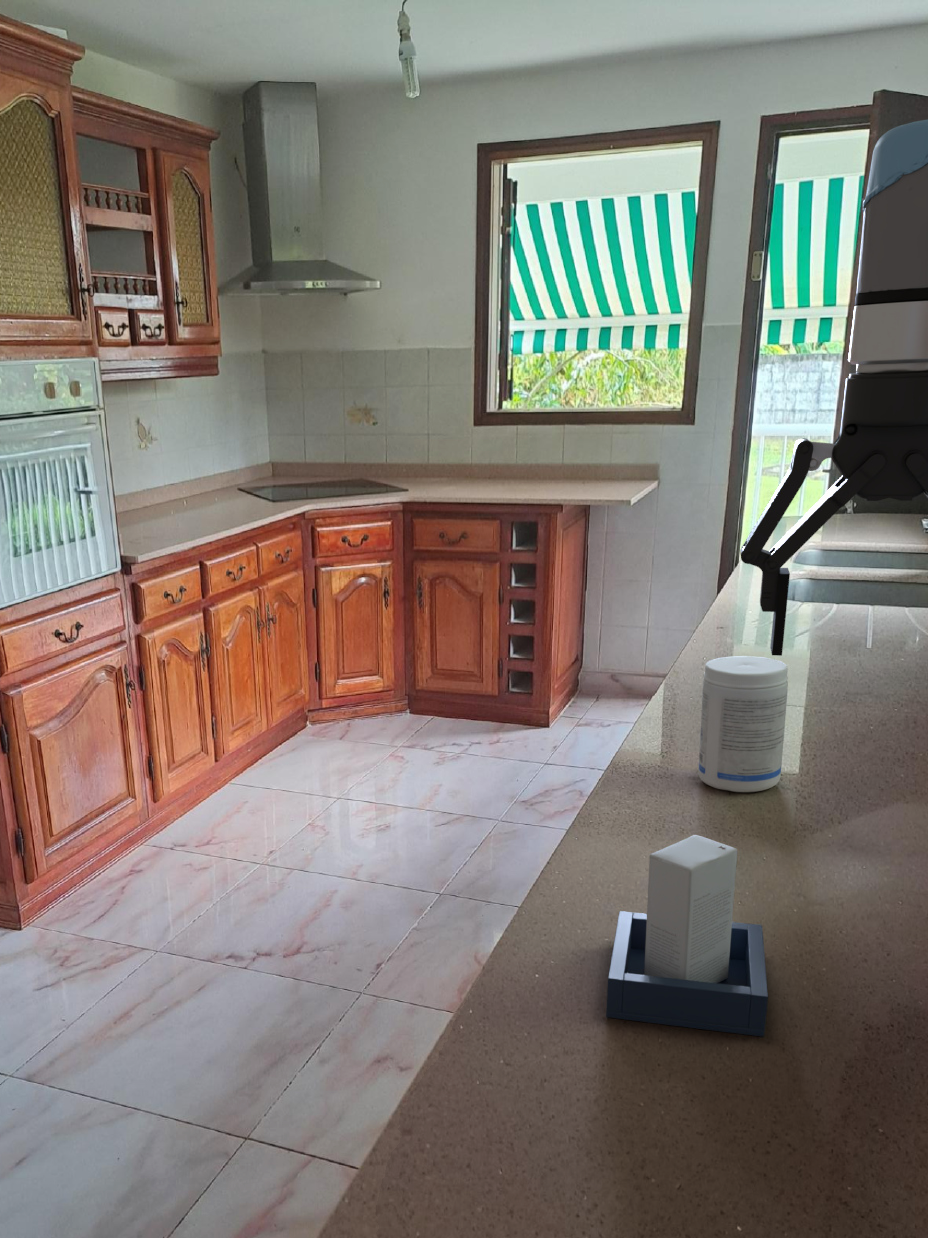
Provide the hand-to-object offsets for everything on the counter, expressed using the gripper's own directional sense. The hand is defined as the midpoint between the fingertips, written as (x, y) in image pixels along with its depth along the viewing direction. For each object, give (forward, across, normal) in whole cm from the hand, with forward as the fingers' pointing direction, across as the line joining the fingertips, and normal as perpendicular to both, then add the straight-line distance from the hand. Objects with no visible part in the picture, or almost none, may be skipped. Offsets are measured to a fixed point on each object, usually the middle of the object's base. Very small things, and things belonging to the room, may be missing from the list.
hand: (867, 654), depth 88 cm
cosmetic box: (+26, +12, +9) cm, 30 cm away
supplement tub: (+27, +7, -42) cm, 50 cm away
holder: (+27, +12, +9) cm, 31 cm away
